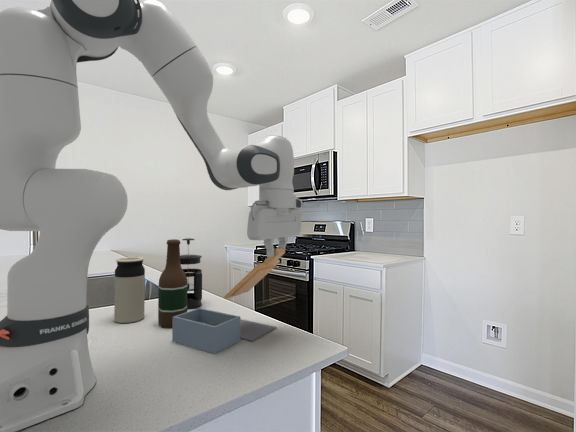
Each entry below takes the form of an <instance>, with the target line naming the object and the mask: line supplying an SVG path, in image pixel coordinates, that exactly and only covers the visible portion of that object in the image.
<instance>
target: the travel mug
mask: <svg viewBox="0 0 576 432" xmlns="http://www.w3.org/2000/svg"><path fill="white" fill-rule="evenodd" d="M144 259H145V258H144V257H140V256H130V257H129V256H125V257H119V258H116V259H115V262H116V265H117V266H116V268H115V270H114V312H113V314H114V319H113V320H114V322H116V323H119V324H131V323H132V324H133V323H136V322H139V321H141V320H143V319H144V318H145V297H146V296H145V292H146V291H145V290H146V289H145V287H146V285H145V279H146V276H145V275H146V271H145V270H146V269H145V267H144V265H143V264H144V263H143V262H144Z"/></svg>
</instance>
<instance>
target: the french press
mask: <svg viewBox="0 0 576 432" xmlns="http://www.w3.org/2000/svg"><path fill="white" fill-rule="evenodd" d="M181 240H182V241H186V245H187V254H180V263H181V265H182V266H183V265H185V266H186V265H187V268H182V269H183V271H184V272H185V274H186V277H187V311H188V310H195V309H198V308H201V307H202V305H203V303H202V299H203V270H202V269H200V268H189V267H190V266H189V265H196V264H200V263H201V258H202V257H203V256H202V255H198V254H190V244H191V241H195V240H196V239H195V238H190V237H187V238H183V239H181ZM189 278H193V283H192V284H191V283H189Z"/></svg>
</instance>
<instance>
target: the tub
mask: <svg viewBox="0 0 576 432" xmlns="http://www.w3.org/2000/svg"><path fill="white" fill-rule="evenodd" d="M240 319H241V316H239V315H235V314H231V313H225V312H222V311H221V312H220V311H216V310H211V309H207V308H201V307H198V308H195V309H191V310H190V311H187V312H186V313H183V314H180V315H177V316H174V317H173V320H172V328H171V329H172V334H171V335H172V336H171V338H172V339H171V341H172V343H177V344H180V345H184V346H187V347H190V348H193V349H197V350H200V351H203V352H206V353H210V354H214V355H216V354H217V353H219V352H222V351H223V350H225V349H227V348H229V347H231V346H233V345H235V344H236V343H238V342H240V341H241V339H240Z"/></svg>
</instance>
